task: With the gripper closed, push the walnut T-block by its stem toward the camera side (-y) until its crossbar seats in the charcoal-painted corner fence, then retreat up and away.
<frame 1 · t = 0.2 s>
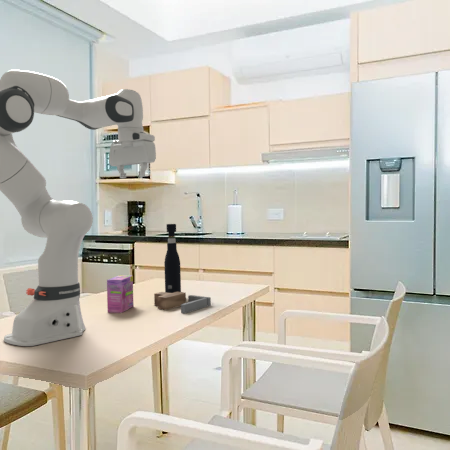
hand: (132, 177, 158), 47 cm above the table, fingers open, 8 cm apart
box: (121, 310, 163), on the table
t block: (172, 306, 166), on the table
corner fence: (188, 308, 162), on the table
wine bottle: (173, 298, 183), on the table
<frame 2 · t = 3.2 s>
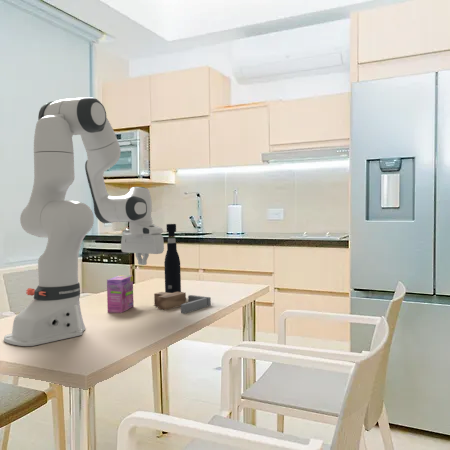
hand: (142, 264, 175), 15 cm above the table, fingers closed
nothing on the table moved.
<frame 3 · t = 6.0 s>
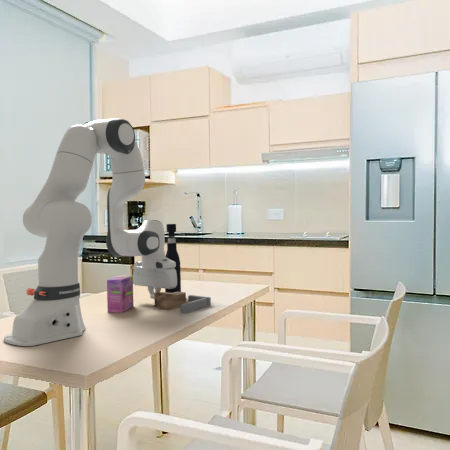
hand: (154, 298, 171), 2 cm above the table, fingers closed
t block: (172, 306, 166), on the table, touching gripper
everything else where it was.
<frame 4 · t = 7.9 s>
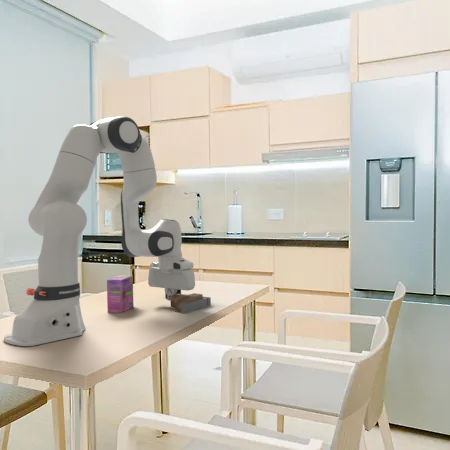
hand: (171, 300, 167), 2 cm above the table, fingers closed
t block: (189, 308, 162), on the table, touching corner fence, gripper
everything else where it was.
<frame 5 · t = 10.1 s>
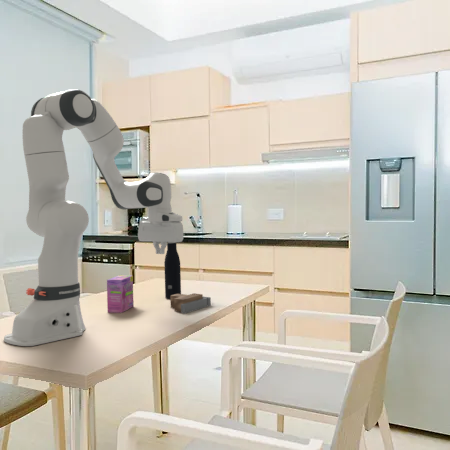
hand: (160, 253, 168), 19 cm above the table, fingers closed
t block: (189, 308, 162), on the table
everything else where it was.
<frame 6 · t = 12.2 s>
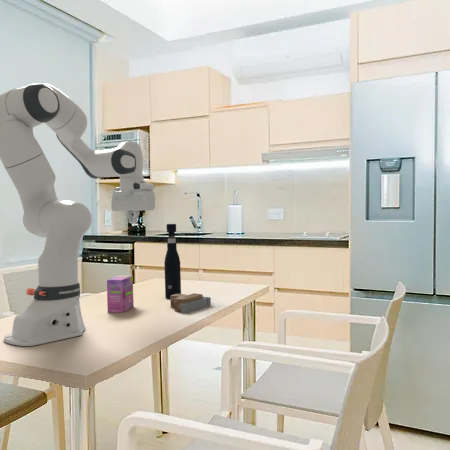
hand: (133, 222, 169), 31 cm above the table, fingers closed
t block: (189, 308, 162), on the table, touching corner fence
everything else where it was.
at the end: t block 0.1 cm from the target spot, on the table; t block tilted 0° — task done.
